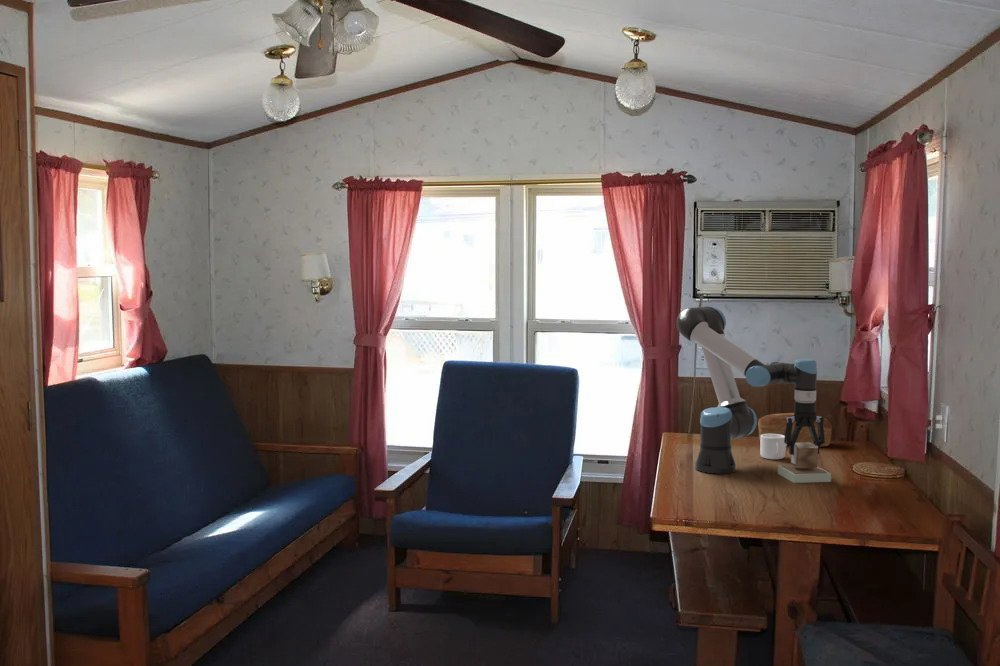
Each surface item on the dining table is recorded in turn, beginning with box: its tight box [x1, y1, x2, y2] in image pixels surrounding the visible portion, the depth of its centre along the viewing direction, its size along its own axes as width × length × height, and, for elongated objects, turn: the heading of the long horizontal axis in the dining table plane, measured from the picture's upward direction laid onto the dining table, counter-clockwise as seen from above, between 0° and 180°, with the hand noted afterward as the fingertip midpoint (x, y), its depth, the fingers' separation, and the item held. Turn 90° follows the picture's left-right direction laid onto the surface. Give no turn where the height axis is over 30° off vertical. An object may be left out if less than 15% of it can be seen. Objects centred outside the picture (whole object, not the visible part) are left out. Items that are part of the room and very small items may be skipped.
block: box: [790, 442, 819, 468], centre depth 314 cm, size 7×7×8 cm
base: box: [777, 464, 832, 484], centre depth 314 cm, size 14×14×3 cm
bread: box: [757, 412, 833, 448], centre depth 374 cm, size 12×31×14 cm, turn 72°
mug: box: [759, 434, 788, 461], centre depth 346 cm, size 12×10×9 cm
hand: (803, 462), depth 314 cm, fingers closed on block, 7 cm apart
